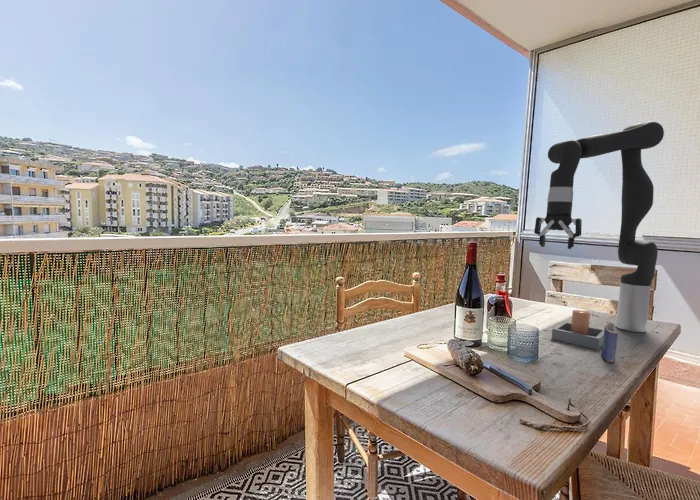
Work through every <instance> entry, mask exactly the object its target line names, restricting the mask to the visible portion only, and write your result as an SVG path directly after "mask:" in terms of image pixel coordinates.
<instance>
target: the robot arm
mask: <svg viewBox="0 0 700 500" xmlns="http://www.w3.org/2000/svg"><path fill="white" fill-rule="evenodd" d="M664 135H665V130H664V127H663V125H662V124H660V123H659V122H658V121H652V120H651V121H643V122H639V123H634V124H630V125H628V126H626V127H624V128H623V129H622V131H621V130H620V131H615V132H614V131H613V132H609V133H601V134H596V135H591V136H586V137H582V138H579V139H576V140H574V139H570V140H569V139H568V140H565V141H562V142H557V143H555V144H553V145H552V146H550V148H549V149H548V151H547V158H548V160H549V161H550V162H551V163H554V164H557V165H558V164H559V165H558V167H557V169H555V170H553V171H552V172H551V174H550V180H549V181H550V182H549V190H548V195H547V207H546V216H545V217H541V216H537V217H536V219H535V223H534V224H535V225H534V232H533V233H534V234H535V235H538V236H539V242H538V243H539V246H540V247H541V248H544V247H546V234H548V232H550V231H556V230H557V231H561V232H562V231H564V232H565V233H566V234H567V236H568V240H567V249H568V250H572V248H574V247H575V238H578V237H581V236H582V226H583V225H582V224H583V220H582V218H578V217H577V218H572V212H573V210H572V209H573V202H574V201H573V200H574V179H575V174H576V172H577V170H578V169H577V168H578V167H579V163H580V160H582V159H588V158H589V159H590V158H594V157H598V156H602V155H606V154H610V153H615V152H617V151H620V156H621V167H622V168H621V171H622V173H621V174H622V175H621V176H622V182H621V183H622V184H621V185H622V187H621V224H620V231H619V239H618V246H617V247H618V249H617V256H618V260H619V262H620V263H621V264H624V265H627V266H628V265H630V266H637V268H636V270H635V271H633V272H631V273H630V272H629V273H624V274H622V275H621V277H620V285H619V293H618V301H617V311H616V320H615V328H618V329H620V330H624V331H627V332H634V333H646V332H647V326H648V325H647V324H648V318H649V309H650V308H649V307H650V300H651V299H650V298H651V292H652V291H651V290H652V282H653V279H654V276H655V272H656V266H657V260H658V256H659V255H658V246H657V244H656V243H655V242H654V241H646V240H636V235H637V234H636V233H637V229H638V227H639V225H640V223H641V222H642V220H643V219H644V218H645V217H646V216H647V214H648V213H649V212H650V210H651V209H652V208H653V205H654V183H653V181H652V180H651V178H650V176H649V175H648V173H647V172H646V170H645V168H644V166H643V163H642V150H647V149H652V148H654V147H656V146H658V145H659V144H660V143H661V142H662V140H663V139H664ZM544 222H545V224H546V226H545V227H543V229H542V230H541V228H542V224H544ZM572 223H573V225H575V233H574V232H573V230H572V229H571V227H570V225H571V224H572Z"/></svg>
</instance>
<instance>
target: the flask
mask: <svg viewBox="0 0 700 500" xmlns="http://www.w3.org/2000/svg"><path fill="white" fill-rule="evenodd" d="M603 330H604V338H603V345H602V346H601V354H600V357H601V358H602V359H603V361H604V362H606V363H609V364H611V363H612V364H614V363H615V362H616V353H617V344H618V337H619V333H618V331H617V329H616V322H615V323H613V322H610V321H607V322H606V325H605V326H604V329H603Z"/></svg>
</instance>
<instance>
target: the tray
mask: <svg viewBox="0 0 700 500" xmlns="http://www.w3.org/2000/svg"><path fill="white" fill-rule="evenodd" d="M571 323H572V322H567V321H563V322H561V323H559V324H558V325H556V326H555V327H553V328H552V331H551V340H556V341H558V342H564V343H568V344H571V345H576V346H581V347H584V348H587V349H589V348H590V349H593V350H597V351H598V350H599V349H601V348H602V346H603V338H604V329H602V328H599V327H592V326H589V330H588V335H584V334H579V333H574V332H571Z"/></svg>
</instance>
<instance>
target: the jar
mask: <svg viewBox="0 0 700 500" xmlns="http://www.w3.org/2000/svg"><path fill="white" fill-rule="evenodd" d="M571 315H572V316H571V322H570V323H571V332H574V333H579V334H584V335H588V330H589V327H590V321H591V320H590V317H591V312H589V311H585V310H580V309H579V310H578V309H574V310H573V309H572V314H571Z"/></svg>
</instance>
